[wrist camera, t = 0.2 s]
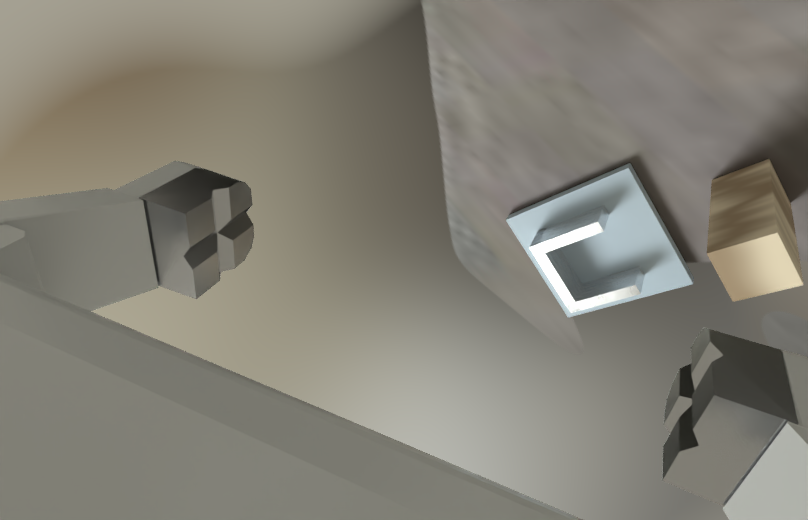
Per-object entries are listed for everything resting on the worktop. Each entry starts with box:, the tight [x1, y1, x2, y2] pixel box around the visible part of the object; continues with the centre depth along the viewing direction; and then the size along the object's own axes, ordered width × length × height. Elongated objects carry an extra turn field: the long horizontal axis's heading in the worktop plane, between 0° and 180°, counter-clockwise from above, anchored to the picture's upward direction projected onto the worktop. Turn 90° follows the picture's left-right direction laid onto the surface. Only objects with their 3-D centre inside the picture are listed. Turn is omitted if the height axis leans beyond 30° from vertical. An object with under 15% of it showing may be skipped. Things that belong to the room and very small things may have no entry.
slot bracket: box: [529, 205, 645, 313], centre depth 50 cm, size 8×7×3 cm
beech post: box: [707, 159, 803, 302], centre depth 39 cm, size 4×4×11 cm
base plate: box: [506, 163, 694, 317], centre depth 51 cm, size 12×12×1 cm
